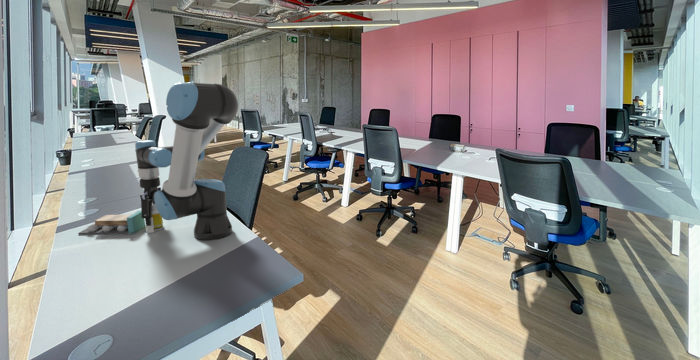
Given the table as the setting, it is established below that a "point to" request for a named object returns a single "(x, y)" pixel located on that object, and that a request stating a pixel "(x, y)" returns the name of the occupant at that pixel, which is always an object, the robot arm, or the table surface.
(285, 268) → the table surface
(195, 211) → the robot arm
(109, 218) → the slab
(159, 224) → the pill bottle
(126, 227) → the roller bed
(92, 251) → the table surface
